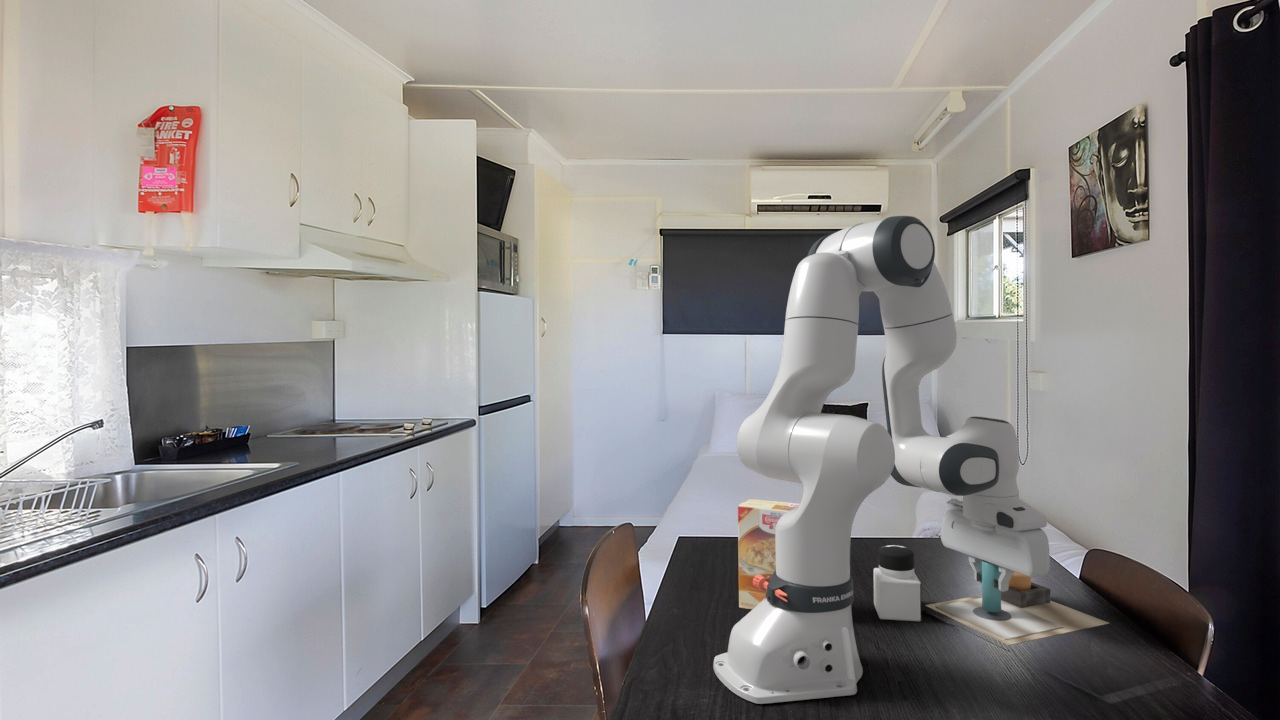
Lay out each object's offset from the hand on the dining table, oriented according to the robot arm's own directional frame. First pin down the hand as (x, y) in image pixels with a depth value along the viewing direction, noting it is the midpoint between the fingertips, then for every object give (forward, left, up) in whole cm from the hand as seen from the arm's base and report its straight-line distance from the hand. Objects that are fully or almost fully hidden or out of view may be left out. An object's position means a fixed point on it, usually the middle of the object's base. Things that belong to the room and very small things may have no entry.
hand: (991, 586), depth 118 cm
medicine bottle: (-13, +9, -6) cm, 17 cm away
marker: (0, 0, -4) cm, 4 cm away
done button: (+11, +4, -4) cm, 12 cm away
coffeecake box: (-31, +19, -6) cm, 37 cm away
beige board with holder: (+4, -1, -6) cm, 7 cm away
